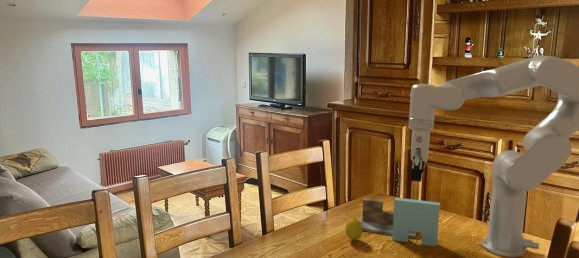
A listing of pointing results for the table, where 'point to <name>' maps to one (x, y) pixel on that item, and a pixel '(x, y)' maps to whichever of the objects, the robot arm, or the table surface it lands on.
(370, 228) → the base
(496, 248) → the robot arm
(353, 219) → the lemon
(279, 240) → the table surface
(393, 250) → the table surface
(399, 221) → the notched plate
